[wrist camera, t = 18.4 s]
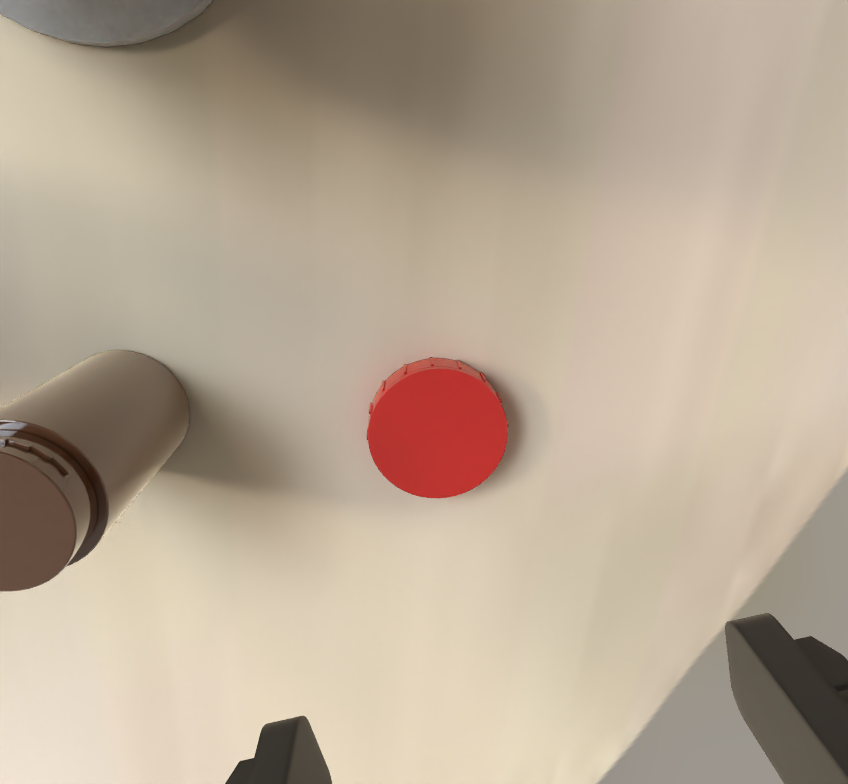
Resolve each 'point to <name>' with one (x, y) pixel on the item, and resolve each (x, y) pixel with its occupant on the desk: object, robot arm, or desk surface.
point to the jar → (81, 459)
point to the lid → (437, 428)
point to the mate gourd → (103, 18)
